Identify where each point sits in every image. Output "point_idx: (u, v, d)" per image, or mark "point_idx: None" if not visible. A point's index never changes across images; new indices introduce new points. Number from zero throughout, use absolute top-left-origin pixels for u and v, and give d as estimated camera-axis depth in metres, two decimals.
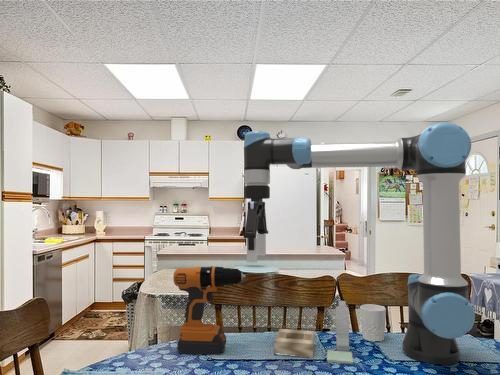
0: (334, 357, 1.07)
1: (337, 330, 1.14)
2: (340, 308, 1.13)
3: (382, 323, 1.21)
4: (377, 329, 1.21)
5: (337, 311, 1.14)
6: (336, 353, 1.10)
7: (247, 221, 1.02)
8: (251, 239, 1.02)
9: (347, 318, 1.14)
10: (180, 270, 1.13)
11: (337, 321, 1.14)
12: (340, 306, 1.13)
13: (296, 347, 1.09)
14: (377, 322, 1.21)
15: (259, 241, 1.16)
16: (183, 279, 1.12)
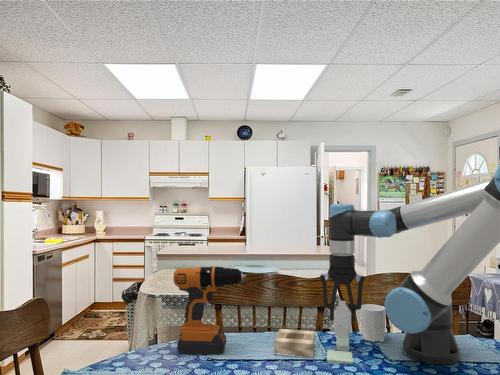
0: (334, 357, 1.07)
1: (337, 330, 1.14)
2: (340, 308, 1.13)
3: (382, 323, 1.21)
4: (377, 329, 1.21)
5: (337, 311, 1.14)
6: (336, 353, 1.10)
7: None
8: None
9: (347, 318, 1.14)
10: (180, 270, 1.13)
11: (337, 321, 1.14)
12: (340, 306, 1.13)
13: (296, 347, 1.09)
14: (377, 322, 1.21)
15: None
16: (183, 279, 1.12)
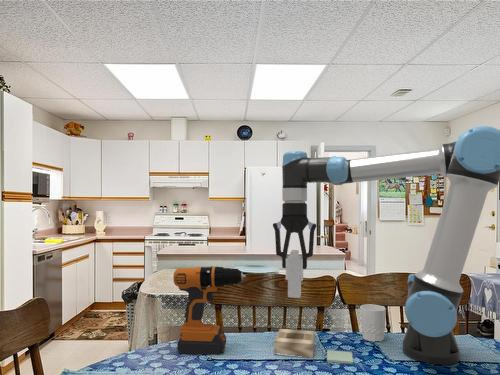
0: (334, 357, 1.07)
1: (288, 277, 1.14)
2: (291, 255, 1.13)
3: (382, 323, 1.21)
4: (377, 329, 1.21)
5: (288, 259, 1.14)
6: (336, 353, 1.10)
7: None
8: None
9: (298, 265, 1.14)
10: (180, 270, 1.13)
11: (289, 268, 1.14)
12: (291, 253, 1.13)
13: (296, 347, 1.09)
14: (377, 322, 1.21)
15: None
16: (183, 279, 1.12)
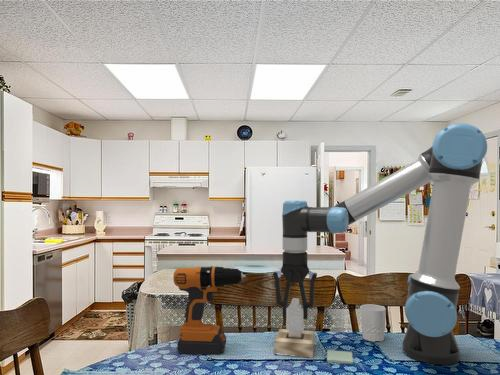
0: (334, 357, 1.07)
1: (289, 328, 1.13)
2: (292, 305, 1.12)
3: (382, 323, 1.21)
4: (377, 329, 1.21)
5: (289, 309, 1.14)
6: (336, 353, 1.10)
7: None
8: None
9: (299, 315, 1.13)
10: (180, 270, 1.13)
11: (290, 318, 1.13)
12: (292, 303, 1.12)
13: (296, 347, 1.09)
14: (377, 322, 1.21)
15: None
16: (183, 279, 1.12)
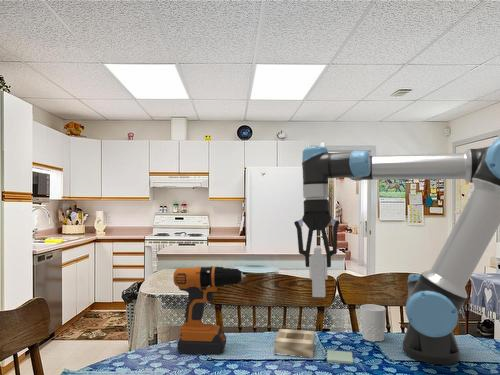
0: (334, 357, 1.07)
1: (312, 276, 1.11)
2: (315, 253, 1.10)
3: (382, 323, 1.21)
4: (377, 329, 1.21)
5: (312, 257, 1.11)
6: (336, 353, 1.10)
7: None
8: None
9: (322, 263, 1.10)
10: (180, 270, 1.13)
11: (313, 267, 1.11)
12: (315, 251, 1.10)
13: (296, 347, 1.09)
14: (377, 322, 1.21)
15: None
16: (183, 279, 1.12)
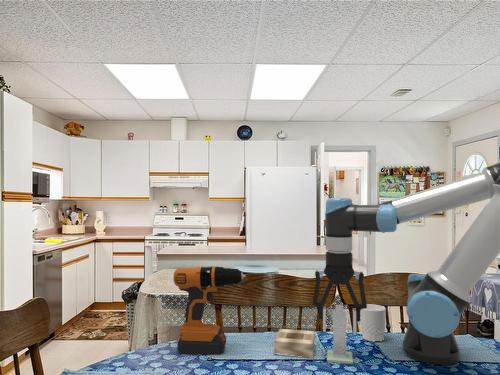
0: None
1: (334, 336, 1.07)
2: (337, 313, 1.06)
3: (382, 323, 1.21)
4: (377, 329, 1.21)
5: (333, 316, 1.07)
6: None
7: None
8: None
9: (344, 323, 1.07)
10: (180, 270, 1.13)
11: (334, 326, 1.07)
12: (337, 311, 1.06)
13: (296, 347, 1.09)
14: (377, 322, 1.21)
15: None
16: (183, 279, 1.12)
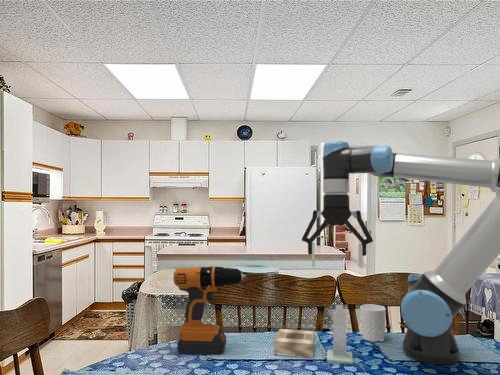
0: None
1: (334, 336, 1.07)
2: (337, 313, 1.06)
3: (382, 323, 1.21)
4: (377, 329, 1.21)
5: (333, 316, 1.07)
6: None
7: None
8: None
9: (344, 323, 1.07)
10: (180, 270, 1.13)
11: (334, 326, 1.07)
12: (337, 311, 1.06)
13: (296, 347, 1.09)
14: (377, 322, 1.21)
15: (359, 251, 1.11)
16: (183, 279, 1.12)
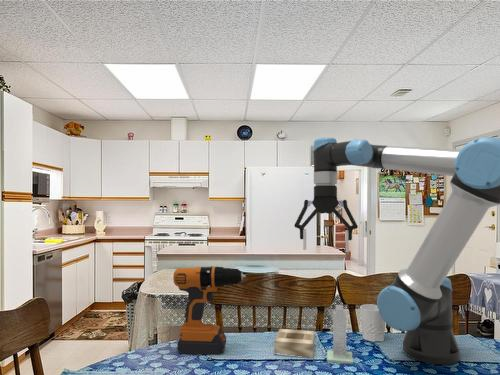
0: None
1: (334, 336, 1.07)
2: (337, 313, 1.06)
3: (382, 323, 1.21)
4: (377, 329, 1.21)
5: (333, 316, 1.07)
6: None
7: None
8: None
9: (344, 323, 1.07)
10: (180, 270, 1.13)
11: (334, 326, 1.07)
12: (337, 311, 1.06)
13: (296, 347, 1.09)
14: (377, 322, 1.21)
15: None
16: (183, 279, 1.12)
